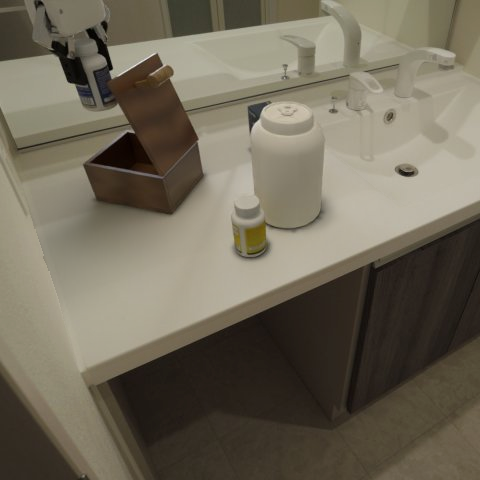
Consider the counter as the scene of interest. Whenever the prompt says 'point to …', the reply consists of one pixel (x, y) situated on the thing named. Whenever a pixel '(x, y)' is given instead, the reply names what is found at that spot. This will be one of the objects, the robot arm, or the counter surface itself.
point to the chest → (141, 175)
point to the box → (255, 113)
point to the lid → (154, 111)
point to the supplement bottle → (249, 226)
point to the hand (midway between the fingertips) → (91, 75)
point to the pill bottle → (94, 77)
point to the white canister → (288, 164)
